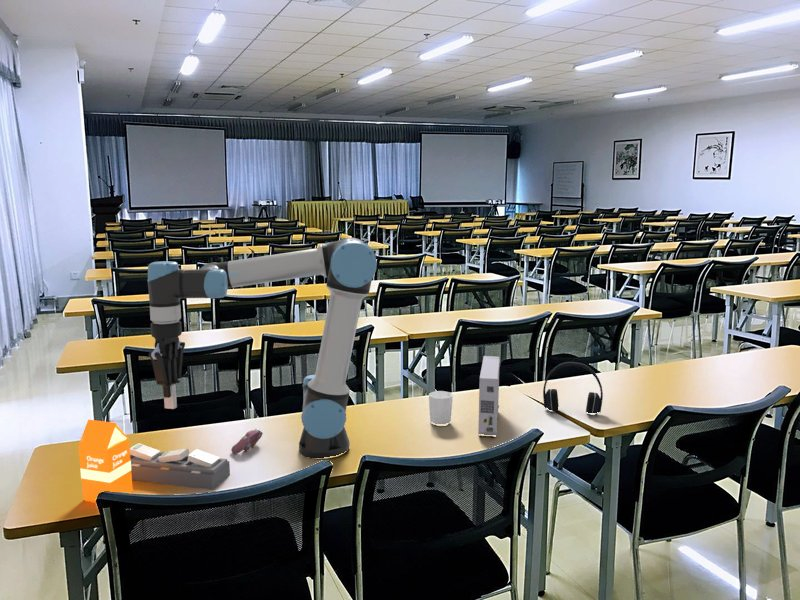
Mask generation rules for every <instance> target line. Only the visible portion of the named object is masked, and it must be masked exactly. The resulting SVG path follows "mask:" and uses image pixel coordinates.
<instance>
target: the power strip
mask: <svg viewBox="0 0 800 600" xmlns="http://www.w3.org/2000/svg"><path fill="white" fill-rule="evenodd" d="M164 453H165V451H161V452H160V456H161V455H162V454H164ZM187 460H188V455H187V456H186V457H185V458H183V459H182V460H177V461H170V462H159V461H158V458H156V459H155V460H153V461H147V460H144V459H141V458H138V457H136V456H133V455H130V461H131V475H132V481H139V482H140V481H141V482H148V483H155V484H163V485H172V486H178V487H179V486H180V487H181V486H182V487H188V488H195V489H197V488H198V489H203V490H204V489H205V490H215V489H216V488H217V487H218V486H219V485H221V483H222V482H223V481H225V480H226V479H227V478H229V476H230V475H231V469H230V467H231V465H230V461H229V460H228V458H221V457H219V463H218V464H217V465H215V466H214V467H213V468H208V467H204V466H201V465H198V464H196V463H193V462H190V461H187Z"/></svg>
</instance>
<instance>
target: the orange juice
mask: <svg viewBox="0 0 800 600" xmlns="http://www.w3.org/2000/svg"><path fill="white" fill-rule="evenodd" d="M77 447H78V455H79V466H80V479H81V488H82V501H83V500H85V501H84V502H89V501H90V502H89V503H95V499H96V497H97V495H98V494H99V493H100V492H104V491H110V492H130V494H132V493H133V491H134V490H133V480H132V475H131V461H130V448H131V447H130V438H128V436H127V435H126V433H124V432H123V431H122V429H121V428H120V427H119V425H118V423H117V422H112V421H104V420H95V419H87V422H86V424H85V427H84V430H83V432H82V435H81V438H80V441H79V443H78V446H77ZM131 492H132V493H131Z"/></svg>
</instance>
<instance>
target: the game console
mask: <svg viewBox="0 0 800 600" xmlns="http://www.w3.org/2000/svg"><path fill="white" fill-rule="evenodd" d="M500 359H501V358H500V356H494V355H493V356H492V355H489V356H488V355H483V358H482V363H481V369H480V375H479V386H478V387H479V388H478V389H479V391H478V392H479V393H478V395H479V397H478V429H477V431H478V435H479V434H484V435H496V434H497V435H498V420H497V418H499V409H500V405H499V391H500V367H501V362H500ZM497 435H496V436H497Z"/></svg>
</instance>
